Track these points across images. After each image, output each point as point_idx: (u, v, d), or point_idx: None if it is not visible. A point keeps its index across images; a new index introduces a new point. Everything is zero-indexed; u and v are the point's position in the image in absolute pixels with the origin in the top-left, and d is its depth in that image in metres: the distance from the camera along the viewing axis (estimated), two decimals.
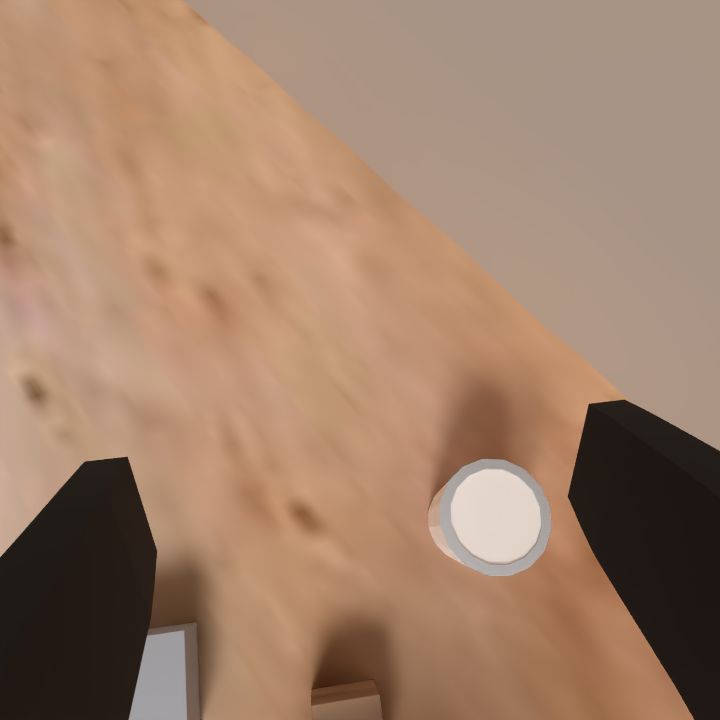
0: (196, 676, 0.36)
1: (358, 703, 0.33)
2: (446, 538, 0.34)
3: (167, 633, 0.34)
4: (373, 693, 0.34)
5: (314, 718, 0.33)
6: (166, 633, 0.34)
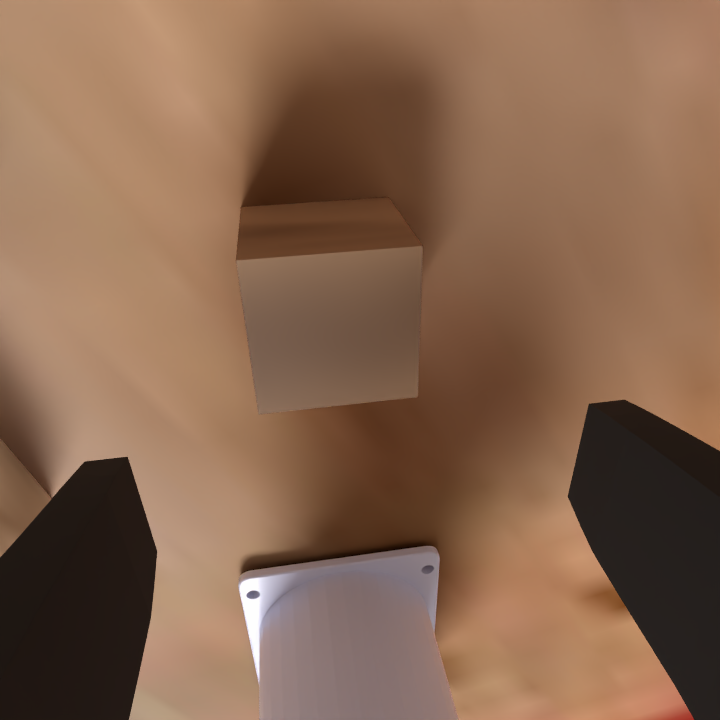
0: None
1: (365, 263, 0.12)
2: None
3: None
4: (403, 240, 0.13)
5: (245, 288, 0.12)
6: None
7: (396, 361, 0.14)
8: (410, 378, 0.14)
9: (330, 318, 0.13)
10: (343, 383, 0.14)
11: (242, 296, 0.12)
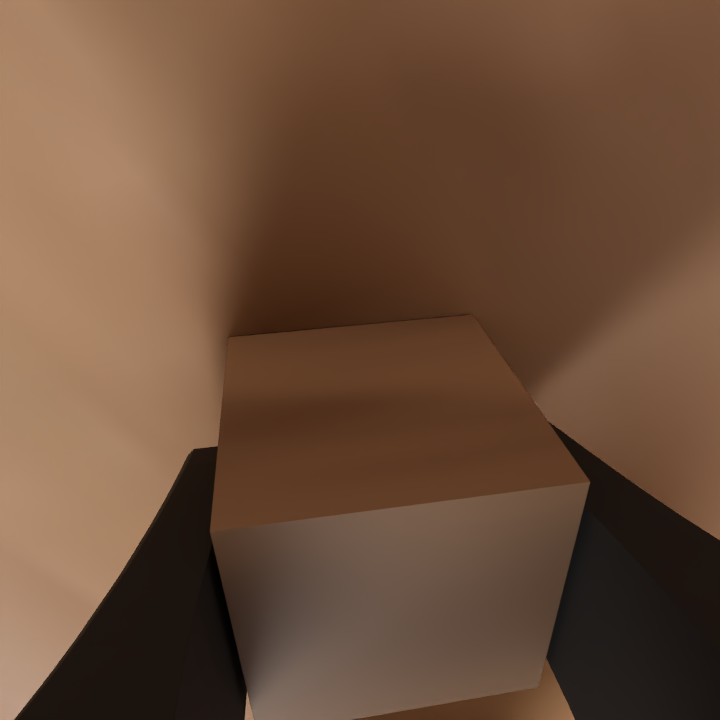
0: None
1: (472, 516, 0.06)
2: None
3: None
4: (542, 455, 0.07)
5: (231, 571, 0.06)
6: None
7: (509, 647, 0.08)
8: (530, 666, 0.08)
9: (397, 600, 0.07)
10: (411, 683, 0.08)
11: (225, 583, 0.06)
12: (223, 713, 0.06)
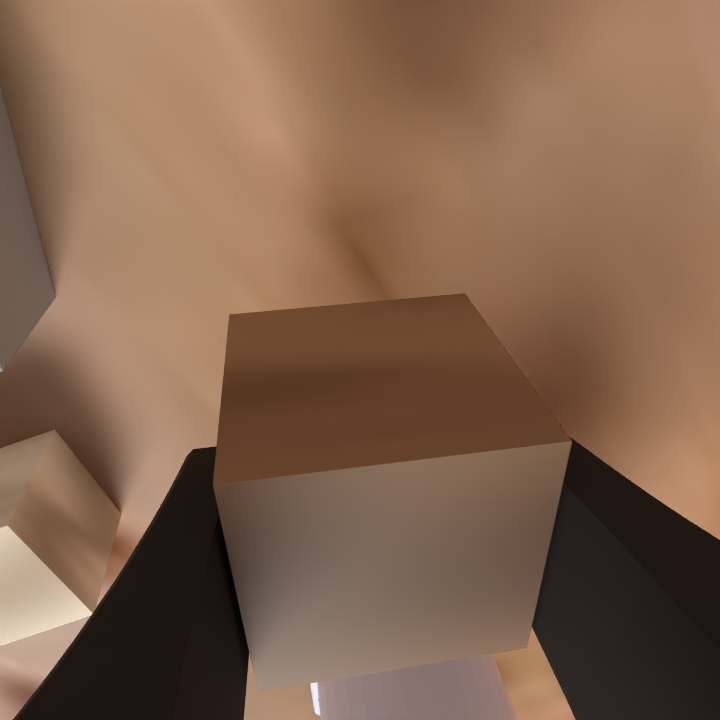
0: (17, 195, 0.13)
1: (461, 473, 0.06)
2: None
3: None
4: (527, 418, 0.07)
5: (232, 525, 0.06)
6: None
7: (497, 606, 0.08)
8: (518, 626, 0.08)
9: (390, 557, 0.07)
10: (404, 641, 0.08)
11: (226, 537, 0.06)
12: (222, 713, 0.06)
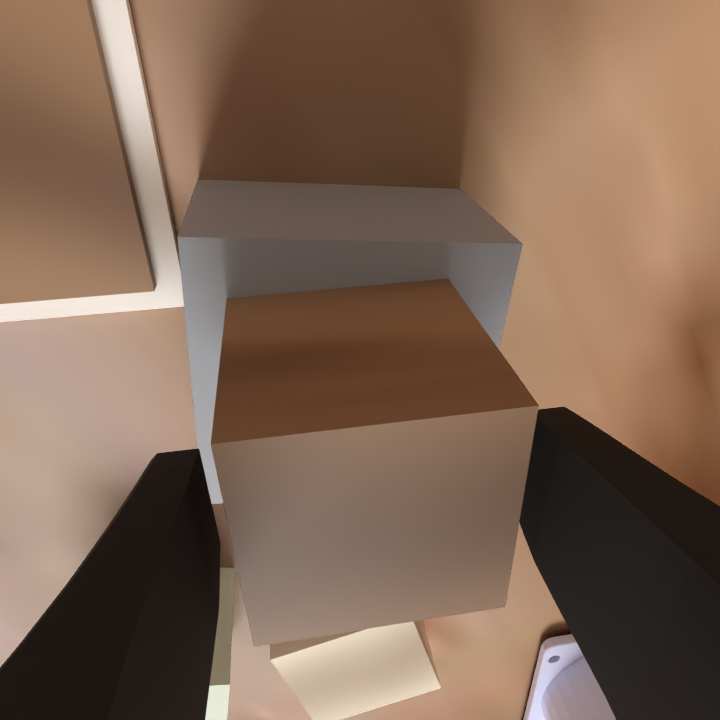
0: None
1: (438, 435, 0.07)
2: None
3: (469, 243, 0.10)
4: (499, 386, 0.07)
5: (228, 483, 0.07)
6: (465, 242, 0.10)
7: (475, 564, 0.09)
8: (496, 585, 0.09)
9: (374, 515, 0.08)
10: (390, 598, 0.09)
11: (223, 495, 0.07)
12: None
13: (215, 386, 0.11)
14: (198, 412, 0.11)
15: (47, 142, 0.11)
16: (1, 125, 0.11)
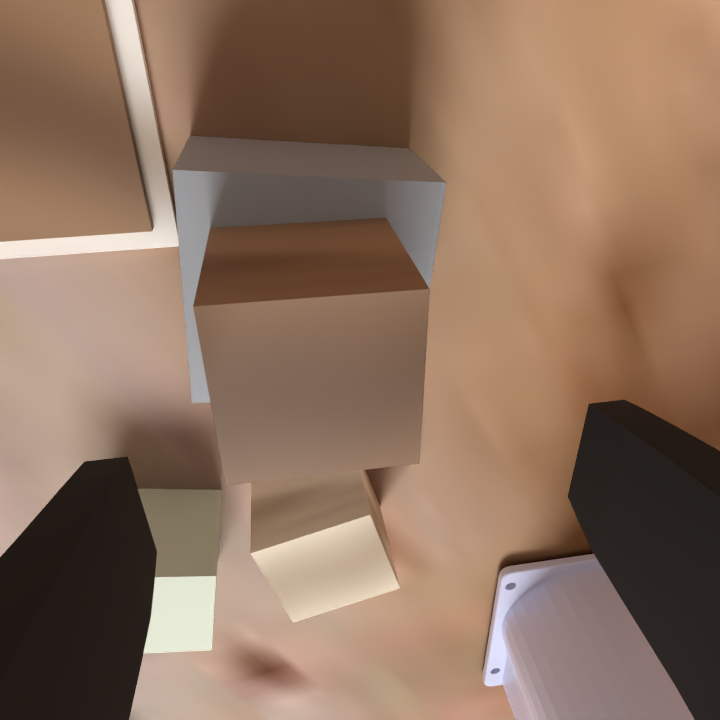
0: None
1: (356, 309, 0.10)
2: None
3: (403, 181, 0.13)
4: (405, 279, 0.10)
5: (206, 340, 0.10)
6: (400, 181, 0.13)
7: (393, 423, 0.11)
8: (411, 442, 0.12)
9: (314, 373, 0.10)
10: (328, 448, 0.11)
11: (202, 349, 0.10)
12: None
13: None
14: (188, 319, 0.14)
15: (65, 103, 0.14)
16: (29, 88, 0.14)
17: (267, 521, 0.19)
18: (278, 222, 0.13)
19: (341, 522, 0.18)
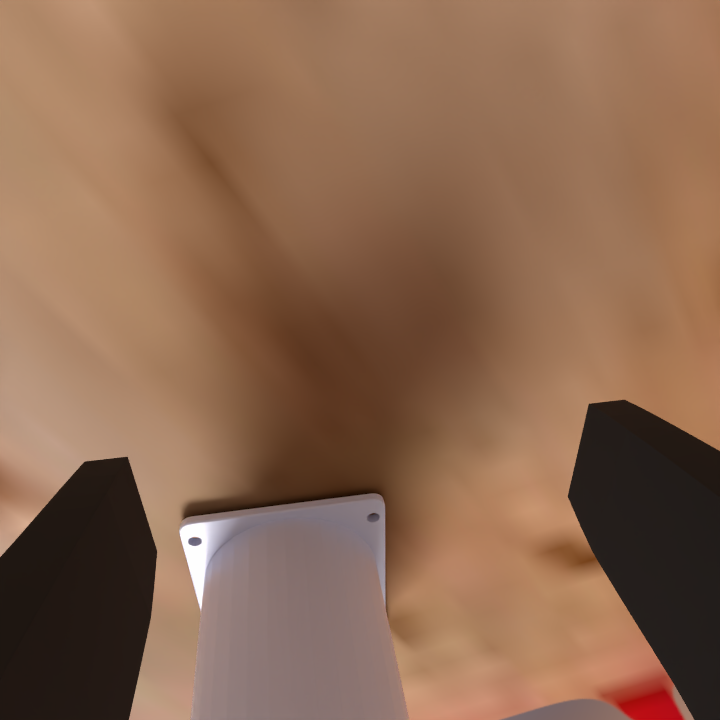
0: None
1: None
2: None
3: None
4: None
5: None
6: None
7: None
8: None
9: None
10: None
11: None
12: None
13: None
14: None
15: None
16: None
17: None
18: None
19: None
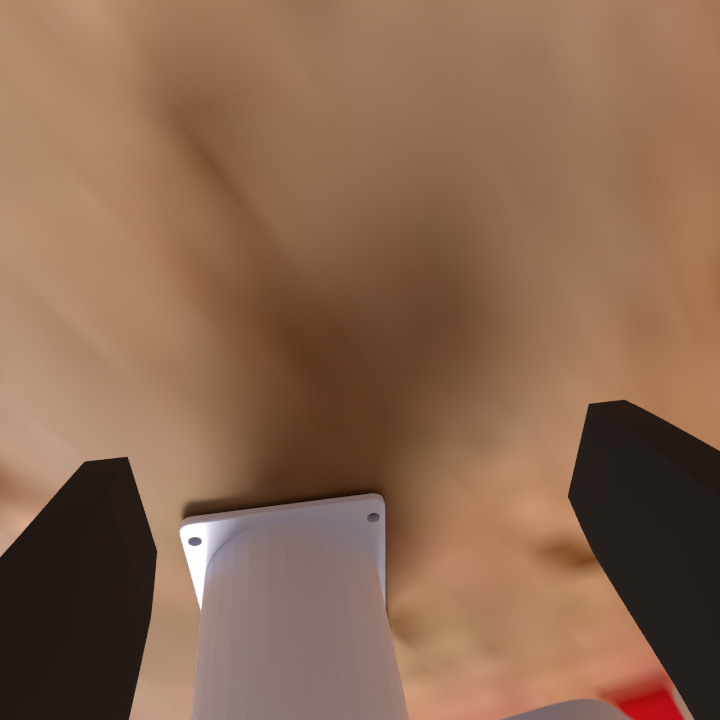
0: None
1: None
2: None
3: None
4: None
5: None
6: None
7: None
8: None
9: None
10: None
11: None
12: None
13: None
14: None
15: None
16: None
17: None
18: None
19: None
